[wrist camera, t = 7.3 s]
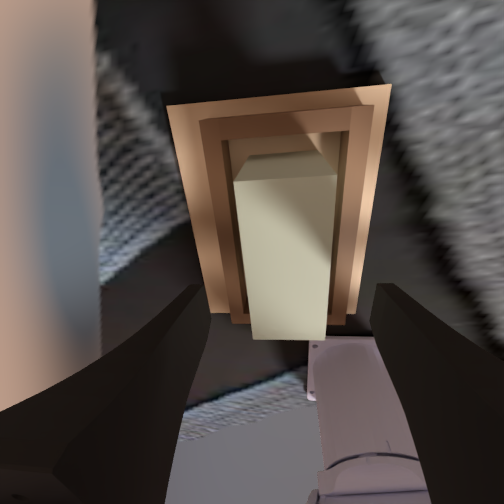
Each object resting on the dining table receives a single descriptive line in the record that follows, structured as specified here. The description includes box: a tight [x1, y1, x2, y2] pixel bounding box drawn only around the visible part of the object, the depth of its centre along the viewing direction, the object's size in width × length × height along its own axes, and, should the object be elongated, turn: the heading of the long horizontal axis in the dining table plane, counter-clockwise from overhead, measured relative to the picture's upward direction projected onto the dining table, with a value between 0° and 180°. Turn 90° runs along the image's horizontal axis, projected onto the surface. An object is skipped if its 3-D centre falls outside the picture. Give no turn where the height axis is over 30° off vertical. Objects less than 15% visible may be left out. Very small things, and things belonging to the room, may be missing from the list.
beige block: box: [234, 150, 337, 340], centre depth 15 cm, size 4×9×6 cm, turn 5°
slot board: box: [167, 84, 392, 325], centre depth 17 cm, size 16×12×3 cm
